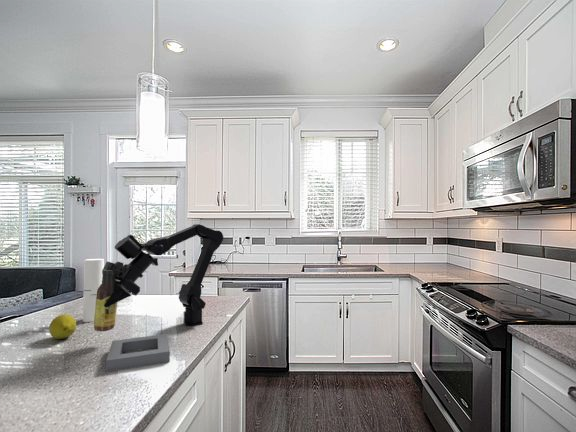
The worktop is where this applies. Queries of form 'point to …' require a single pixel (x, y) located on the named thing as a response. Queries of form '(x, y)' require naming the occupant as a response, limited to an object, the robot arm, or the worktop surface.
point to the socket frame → (138, 358)
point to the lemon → (62, 326)
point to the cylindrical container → (91, 286)
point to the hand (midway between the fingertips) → (101, 304)
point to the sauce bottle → (104, 315)
